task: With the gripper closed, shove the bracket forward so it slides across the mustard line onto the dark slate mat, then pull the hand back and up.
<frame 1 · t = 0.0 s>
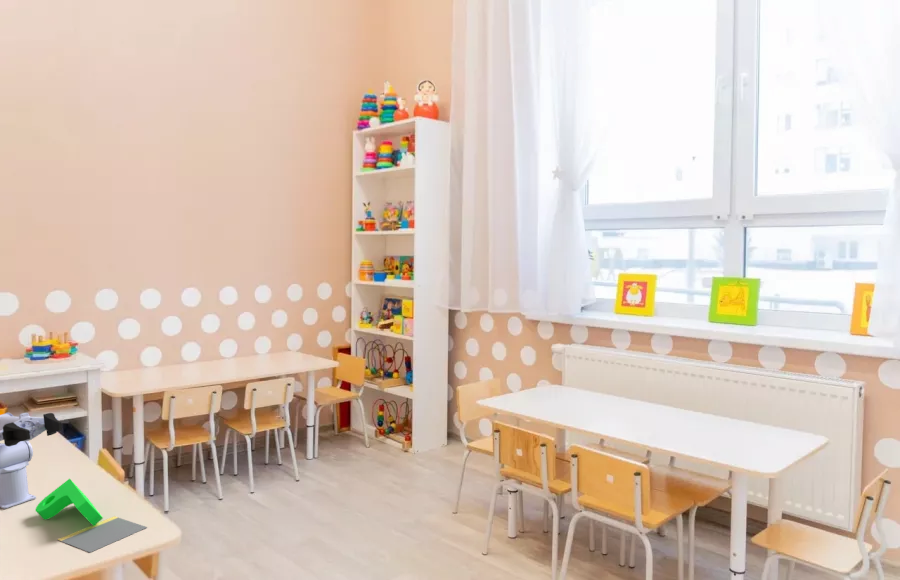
hand: (44, 430, 169), 22 cm above the table, tool horizontal, fingers open, 7 cm apart
bracket: (69, 522, 168), on the table, touching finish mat
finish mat: (103, 533, 160), on the table
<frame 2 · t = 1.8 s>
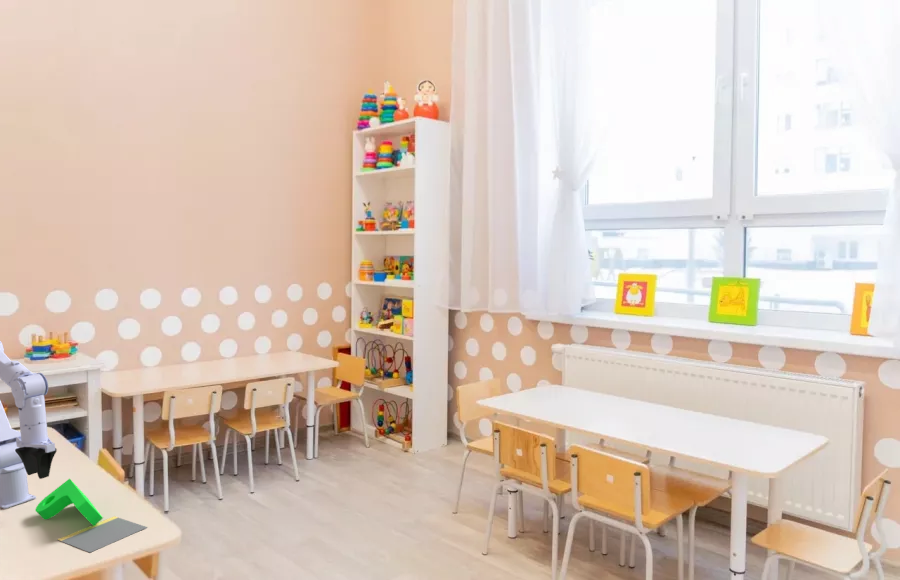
hand: (38, 475, 173), 9 cm above the table, tool pointing down, fingers open, 5 cm apart
nothing on the table moved.
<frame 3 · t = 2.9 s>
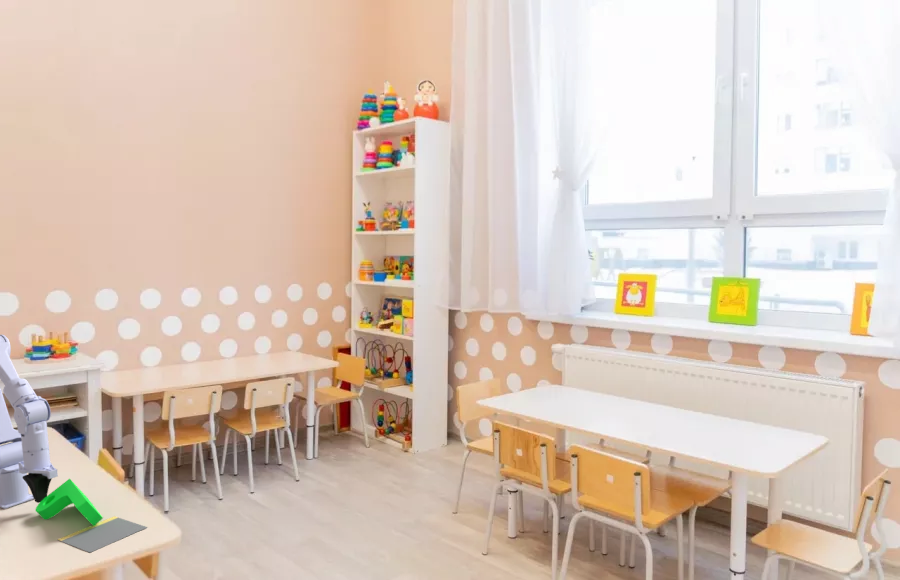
hand: (40, 501, 174), 3 cm above the table, tool pointing down, fingers closed
nothing on the table moved.
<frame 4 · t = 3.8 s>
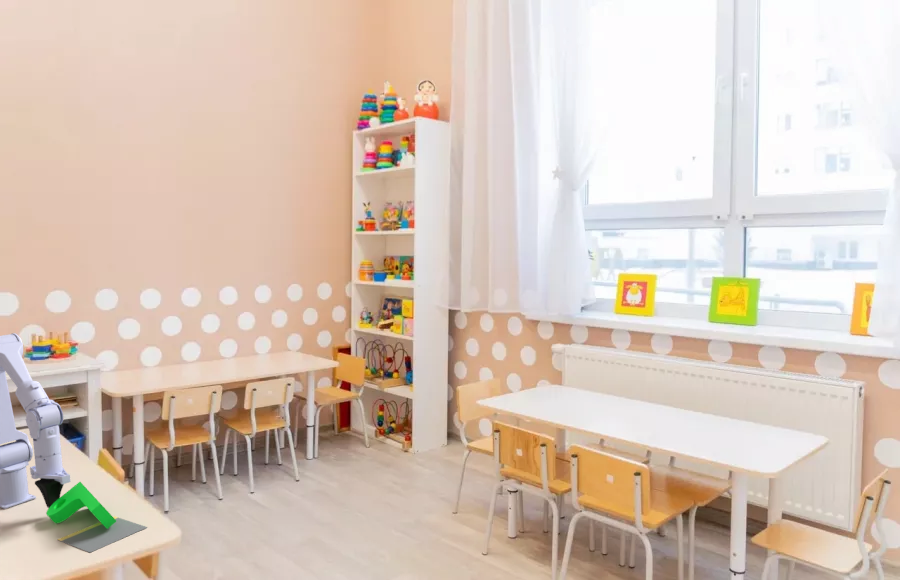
hand: (52, 506, 171), 2 cm above the table, tool pointing down, fingers closed
bracket: (81, 525, 165), on the table, touching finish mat, gripper
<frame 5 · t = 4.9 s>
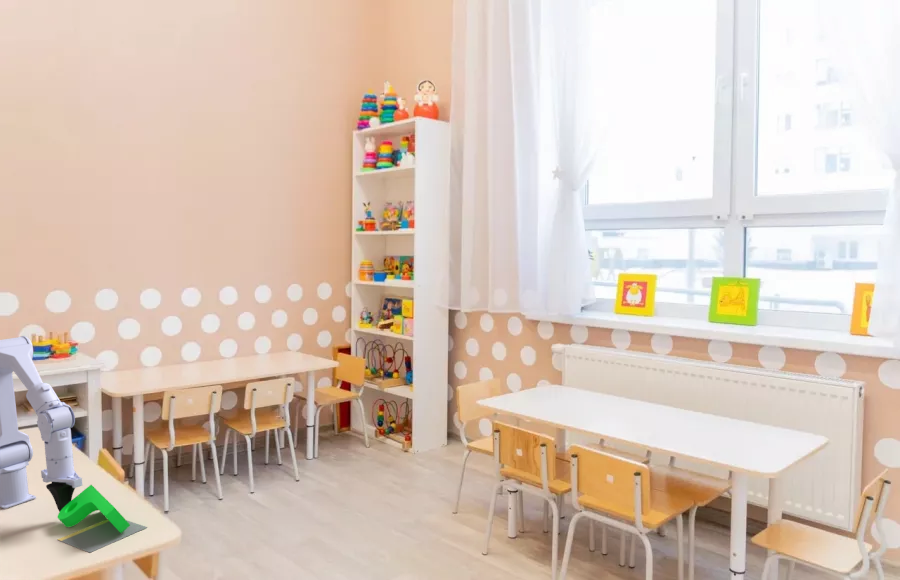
hand: (64, 510, 168), 2 cm above the table, tool pointing down, fingers closed
bracket: (94, 529, 163), on the table, touching gripper
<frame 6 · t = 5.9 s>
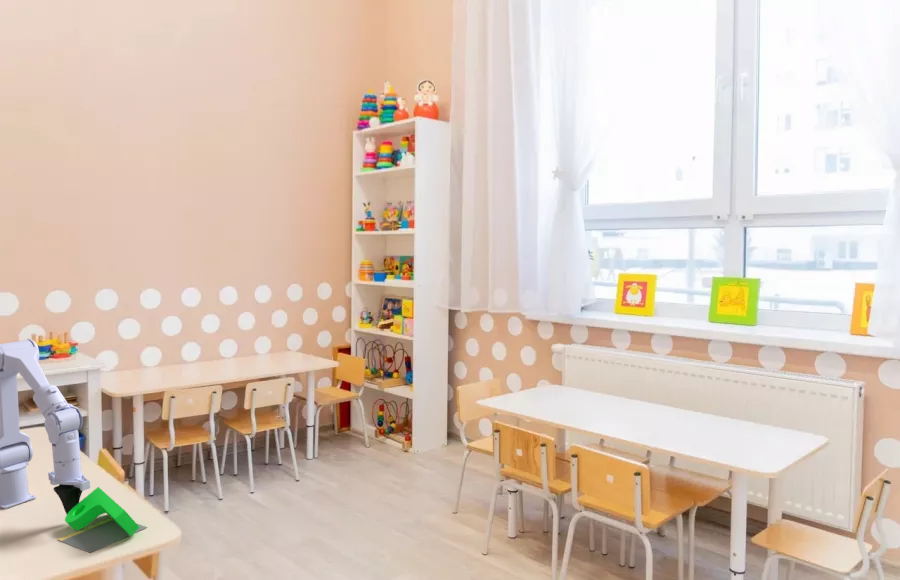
hand: (71, 513, 167), 2 cm above the table, tool pointing down, fingers closed
bracket: (102, 532, 161), on the table, touching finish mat, gripper
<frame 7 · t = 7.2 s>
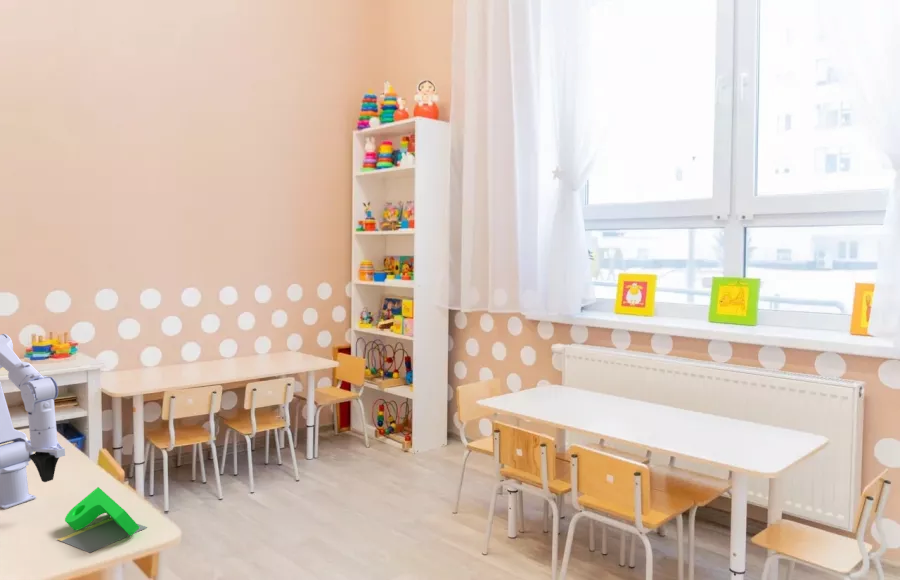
hand: (47, 480, 171), 9 cm above the table, tool pointing down, fingers closed
bracket: (102, 532, 161), on the table, touching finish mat
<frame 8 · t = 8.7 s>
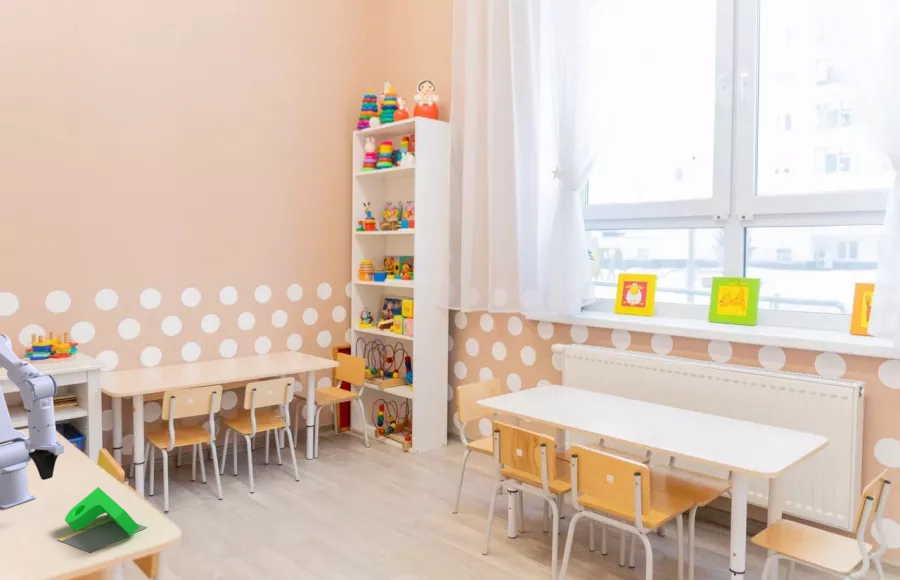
hand: (46, 478, 171), 9 cm above the table, tool pointing down, fingers closed
nothing on the table moved.
at the end: bracket inside the target area (2.6 cm from its centre), on the table; bracket moved 13.1 cm from its start; bracket tilted 2° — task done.
